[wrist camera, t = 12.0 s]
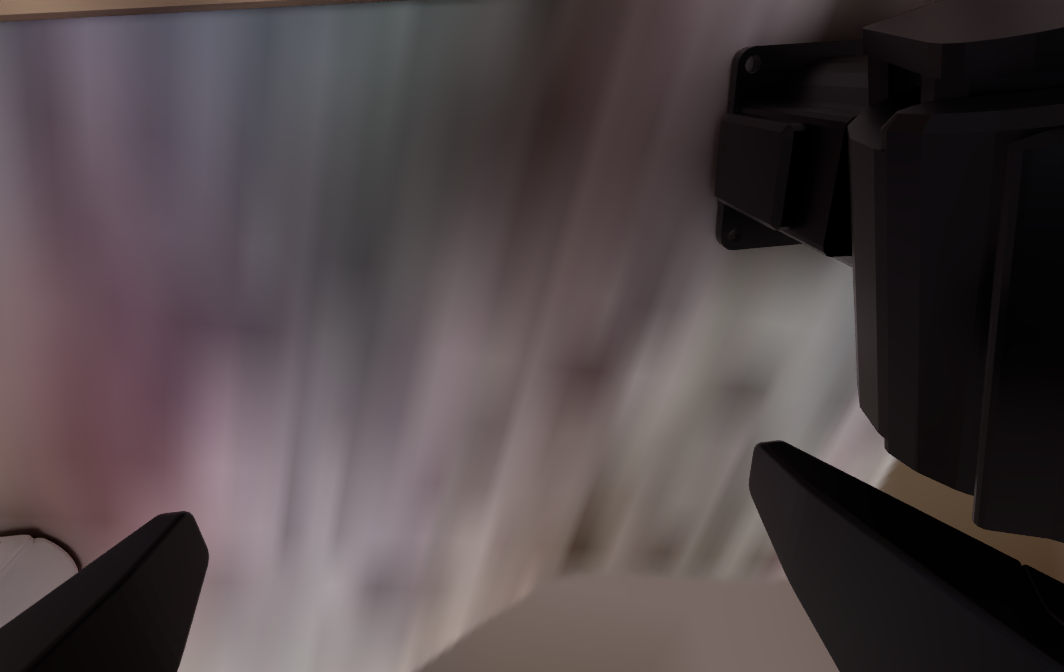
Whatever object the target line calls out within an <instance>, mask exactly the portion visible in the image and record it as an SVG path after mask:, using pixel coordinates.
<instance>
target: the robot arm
mask: <svg viewBox="0 0 1064 672" xmlns="http://www.w3.org/2000/svg"><path fill="white" fill-rule="evenodd" d="M862 30H863V40H847V41H831V42H815V43H799V44H783V45H767V46H751V47H746V48H743V49H742V50H741V51H739V52H738V53H737V55H736V56H735V58H734V61H733V64H732V74H731V84H730V95H729V105H728V114H727V115H726V116H725V117H724V119H723V120H722V121H721V127H720V138H719V149H718V160H717V171H716V182H715V197H716V198H717V199H718V200H719V212H718V222H717V233H716V236H717V241H718V242H719V244H720V245H722V246H723V247H725V248H727V249H729V250H738V249H750V248H761V247H772V246H783V245H794V244H805V245H807V246H809V247H810V248H812V249H814V250H816V251H818V252H820V253H822V254H824V255H826V256H829V257H833V258H835V259H837V260H839V261H841V262H843V263H845V264H847V265H849V266H851V267H853V286H854V312H855V339H856V365H857V386H858V394H859V403H860V408H861V409H862V410H863V412H864V413H865V415H866V416H867V418H868V419H869V420H870V422H871V423H872V425H873V426H874V427H875V429H876V430H877V432H878V433H879V434H880V435H881V436H882V437H884V443H885V449H886V450H887V452H888V453H889V454H891V455H892V456H894V457H895V458H897V459H898V460H900V461H901V462H902V463H904V464H905V465H907V466H908V467H910V468H911V469H913V470H915V471H916V472H918V473H920V474H922V475H924V476H926V477H929V478H931V479H933V480H935V481H937V482H940V483H942V484H944V485H946V486H948V487H950V488H953V489H955V490H957V491H961V492H963V493H966V494H969V495H973V496H974V500H973V512H972V520H973V522H974V523H975V524H976V525H977V526H978V527H980V528H983V529H986V530H991V531H998V532H1005V533H1013V534H1019V535H1026V536H1034V537H1041V538H1048V539H1052V540H1056V541H1059V542H1063V543H1064V0H940V1H937V2H934V3H931V4H929V5H926V6H923V7H920V8H917V9H914V10H911V11H908V12H905V13H902V14H899V15H896V16H893V17H891V18H888V19H885V20H882V21H879V22H876V23H873V24H870V25H867V26H865V27H863V28H862ZM750 56H753V58H754V59H755V66H754V69H753V70H752V71H751V72H749V73H748V71H747V70H746V66H745V64H746V61H747V59H748V58H749V57H750ZM735 229H736V232H737V233H736V236H735V237H734V238H733V239H731V240H728V234H729V233H730V232H731V231H732V230H735ZM749 489H750V493H751V496H752V499H753V501H754V503H755V506H756V508H757V510H758V513H759V515H760V517H761V519H762V522H763V524H764V526H765V529H766V531H767V533H768V536H769V538H770V540H771V542H772V545H773V547H774V549H775V552H776V554H777V556H778V559H779V561H780V563H781V565H782V568H783V570H784V572H785V574H786V576H787V578H788V580H789V582H790V584H791V586H792V588H793V590H794V592H795V593H796V595H797V597H798V599H799V601H800V602H801V604H802V606H803V608H804V609H805V611H806V613H807V615H808V616H809V618H810V620H811V622H812V624H813V625H814V627H815V629H816V631H817V632H818V634H819V636H820V638H821V639H822V641H823V643H824V645H825V647H826V648H827V650H828V652H829V654H830V655H831V657H832V659H833V661H834V662H835V664H836V666H837V668H838V670H839V671H840V672H1064V583H1062V582H1060V581H1058V580H1056V579H1054V578H1052V577H1050V576H1048V575H1046V574H1044V573H1042V572H1040V571H1038V570H1036V569H1034V568H1032V567H1030V566H1028V565H1021V563H1020V562H1019V561H1018V560H1016V559H1014V558H1012V557H1010V556H1008V555H1006V554H1004V553H1002V552H1000V551H998V550H996V549H994V548H993V547H991V546H989V545H987V544H985V543H983V542H981V541H979V540H977V539H975V538H973V537H971V536H969V535H967V534H965V533H963V532H961V531H959V530H957V529H955V528H953V527H951V526H949V525H947V524H945V523H943V522H941V521H939V520H937V519H935V518H934V517H932V516H930V515H928V514H926V513H924V512H922V511H919V510H918V509H916V508H914V507H912V506H910V505H908V504H906V503H904V502H902V501H900V500H898V499H896V498H894V497H892V496H890V495H888V494H886V493H884V492H882V491H880V490H878V489H877V488H875V487H873V486H871V485H869V484H867V483H865V482H863V481H861V480H859V479H857V478H855V477H853V476H851V475H849V474H847V473H845V472H843V471H841V470H839V469H837V468H835V467H833V466H831V465H829V464H827V463H825V462H823V461H821V460H819V459H818V458H816V457H814V456H812V455H810V454H808V453H806V452H804V451H802V450H800V449H798V448H796V447H794V446H792V445H790V444H788V443H786V442H784V441H780V440H777V441H768V442H760V443H758V444H757V445H756V446H755V448H754V451H753V457H752V464H751V471H750V477H749ZM208 561H209V553H208V549H207V546H206V543H205V541H204V539H203V537H202V534H201V532H200V530H199V527H198V525H197V523H196V521H195V518H194V517H193V515H192V514H191V513H189V512H186V511H180V512H172V513H164V514H160V515H158V516H156V517H154V518H153V519H152V520H150V521H149V522H147V523H146V524H145V525H143V526H142V527H140V528H139V529H138V530H136V531H135V532H133V533H132V534H131V535H129V536H128V537H127V538H125V539H124V540H122V541H121V542H120V543H118V544H117V545H115V546H114V547H113V548H111V549H110V550H108V551H107V552H106V553H104V554H103V555H101V556H100V557H99V558H97V559H96V560H94V561H93V562H92V563H90V564H89V565H87V566H86V567H85V568H83V569H82V570H80V571H79V572H78V573H76V574H75V575H73V576H72V577H71V578H69V579H68V580H67V581H65V582H64V583H62V584H61V585H60V586H58V587H57V588H55V589H54V590H53V591H51V592H50V593H48V594H47V595H46V596H44V597H43V598H41V599H40V600H39V601H37V602H36V603H34V604H33V605H32V606H30V607H29V608H27V609H26V610H25V611H23V612H22V613H20V614H19V615H18V616H16V617H15V618H13V619H12V620H11V621H9V622H8V623H6V624H5V625H4V626H2V627H1V628H0V672H177V670H178V668H179V665H180V662H181V659H182V655H183V652H184V649H185V646H186V642H187V638H188V635H189V631H190V628H191V624H192V621H193V617H194V613H195V610H196V606H197V603H198V599H199V595H200V592H201V588H202V585H203V581H204V578H205V574H206V570H207V567H208Z"/></svg>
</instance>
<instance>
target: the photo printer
mask: <svg viewBox="0 0 1064 672" xmlns="http://www.w3.org/2000/svg"><path fill="white" fill-rule="evenodd" d="M76 573H78V569H77V566H76V564H75V562H74V561H73V559H72V558H71V557H70V556H69V555H68V554H67V552H65V551H64V550H63V549H62V548H61V547H59V546H58V545H56V544H55V543H53V542H51V541H49V540H47V539H44V538H34V539H33V538H32V537H31V536H30V535H15V536H5V537H0V628H1V627H2V626H4V625H5V624H6V623H8V622H9V621H11V620H12V619H13V618H15V617H16V616H18V615H19V614H20V613H22V612H23V611H25V610H26V609H27V608H29V607H30V606H32V605H33V604H34V603H36V602H37V601H39V600H40V599H41V598H43V597H44V596H46V595H47V594H48V593H50V592H51V591H53V590H54V589H55V588H57V587H58V586H60V585H61V584H62V583H64V582H65V581H67V580H68V579H69V578H71V577H72V576H73V575H75V574H76Z"/></svg>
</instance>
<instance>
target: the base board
mask: <svg viewBox="0 0 1064 672" xmlns="http://www.w3.org/2000/svg"><path fill="white" fill-rule="evenodd" d="M381 1H400V0H0V22H4V21H23V20H42V19H61V18H80V17H99V16H117V15H136V14H155V13H174V12H193V11H212V10H230V9H249V8H268V7H287V6H306V5H325V4H343V3H362V2H381Z"/></svg>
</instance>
